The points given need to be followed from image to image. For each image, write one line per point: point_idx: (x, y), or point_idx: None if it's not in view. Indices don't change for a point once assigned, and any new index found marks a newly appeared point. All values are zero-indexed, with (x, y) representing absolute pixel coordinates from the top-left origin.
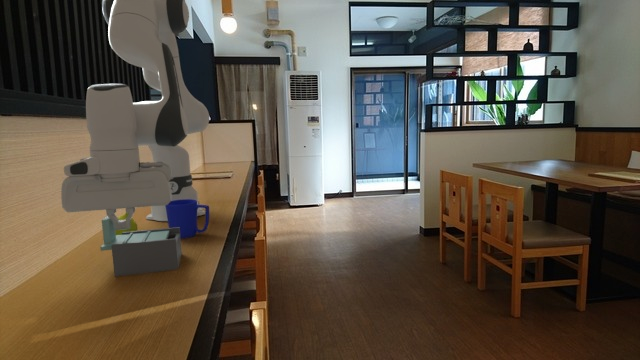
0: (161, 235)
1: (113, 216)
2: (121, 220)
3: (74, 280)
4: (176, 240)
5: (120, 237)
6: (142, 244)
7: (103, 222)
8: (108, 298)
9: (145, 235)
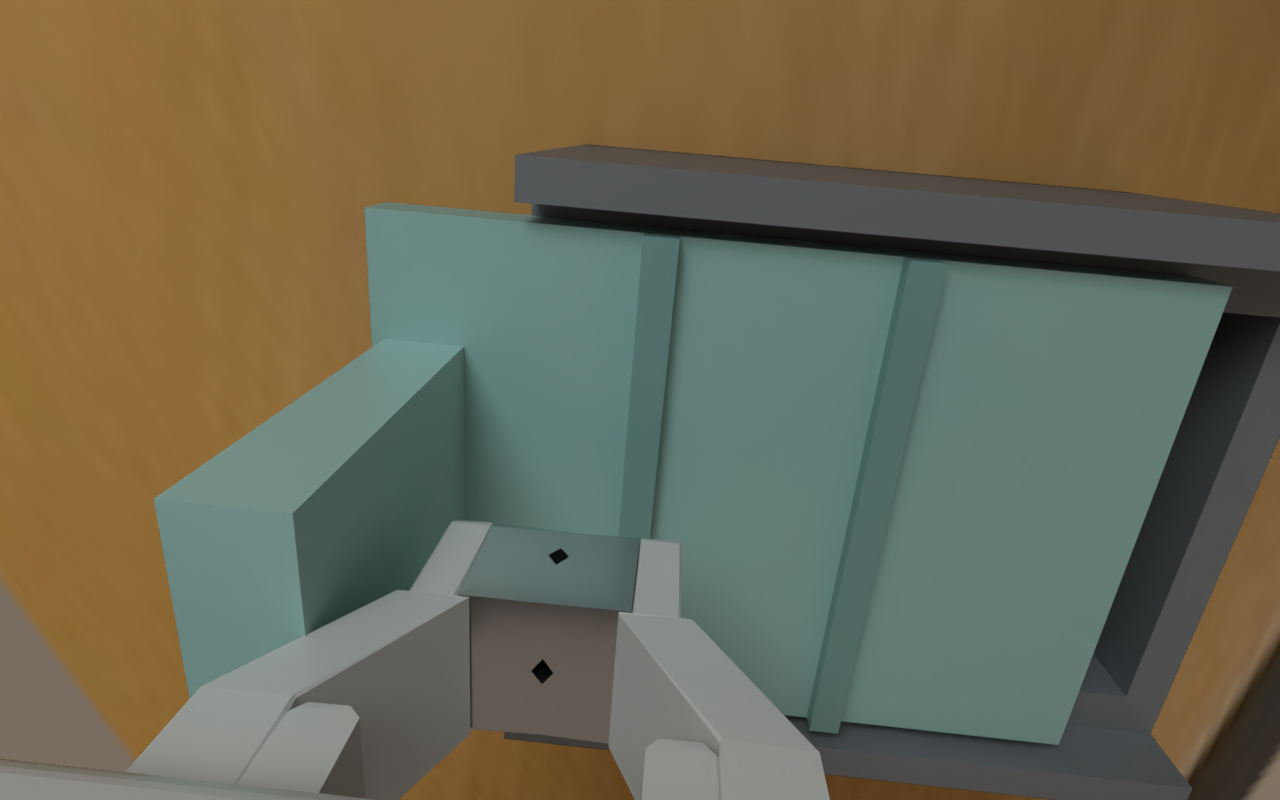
0: (1062, 525)
1: (371, 781)
2: (528, 651)
3: (272, 414)
4: (1187, 620)
5: (527, 374)
6: None
7: None
8: (582, 774)
9: (861, 501)
